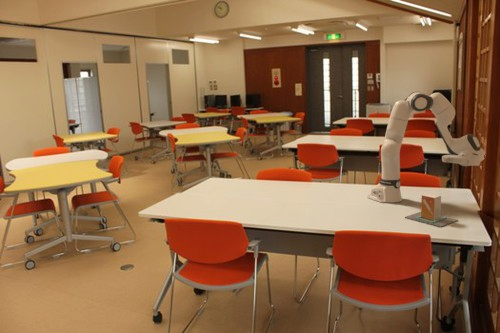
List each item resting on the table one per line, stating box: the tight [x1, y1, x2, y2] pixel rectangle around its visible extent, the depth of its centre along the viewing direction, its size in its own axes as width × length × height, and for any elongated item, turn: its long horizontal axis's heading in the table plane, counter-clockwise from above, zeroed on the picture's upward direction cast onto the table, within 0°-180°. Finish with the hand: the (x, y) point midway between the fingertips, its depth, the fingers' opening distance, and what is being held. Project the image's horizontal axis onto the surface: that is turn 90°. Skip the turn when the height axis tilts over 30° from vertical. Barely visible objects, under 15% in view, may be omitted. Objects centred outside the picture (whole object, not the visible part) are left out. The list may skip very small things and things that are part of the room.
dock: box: [404, 211, 459, 228], centre depth 245 cm, size 22×16×1 cm
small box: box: [420, 193, 442, 221], centre depth 244 cm, size 8×6×13 cm
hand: (452, 161), depth 257 cm, fingers open, 8 cm apart
